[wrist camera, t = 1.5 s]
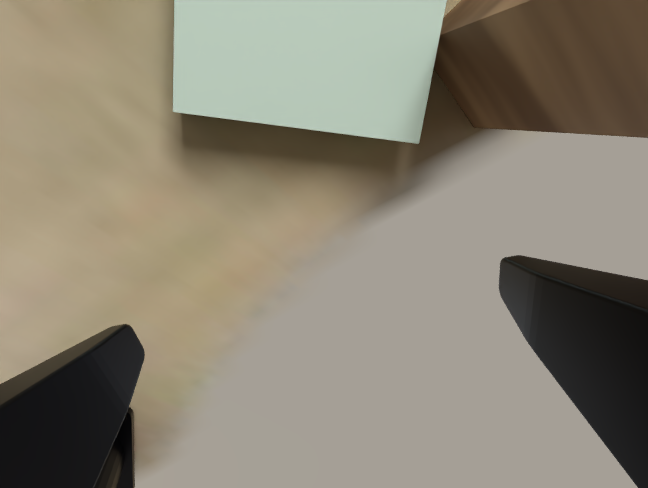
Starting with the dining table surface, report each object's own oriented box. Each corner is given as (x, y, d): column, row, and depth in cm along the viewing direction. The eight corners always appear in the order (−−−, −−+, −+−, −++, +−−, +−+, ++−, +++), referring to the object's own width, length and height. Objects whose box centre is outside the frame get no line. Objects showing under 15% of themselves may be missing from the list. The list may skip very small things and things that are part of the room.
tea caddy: (473, 130, 21) (752, 149, 10) (414, 43, 19) (681, -62, 8) (531, 75, 21) (886, 30, 10) (477, -19, 19) (850, -223, 8)
